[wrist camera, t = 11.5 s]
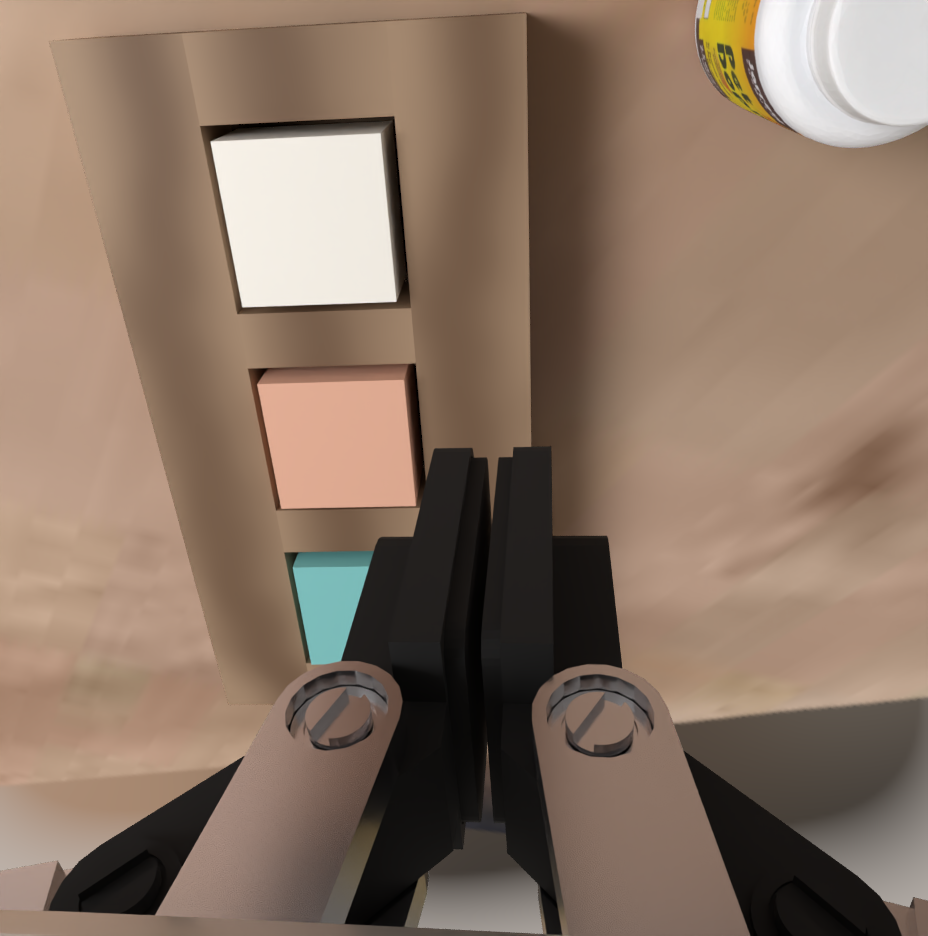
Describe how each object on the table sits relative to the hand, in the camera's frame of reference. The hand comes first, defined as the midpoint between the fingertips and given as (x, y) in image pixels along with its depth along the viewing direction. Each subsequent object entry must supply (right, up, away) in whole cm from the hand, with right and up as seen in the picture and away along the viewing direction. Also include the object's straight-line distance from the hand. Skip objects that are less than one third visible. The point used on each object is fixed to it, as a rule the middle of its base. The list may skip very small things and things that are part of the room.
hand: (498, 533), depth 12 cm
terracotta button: (-5, +3, +20) cm, 21 cm away
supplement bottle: (+9, +15, +14) cm, 22 cm away
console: (-5, +3, +21) cm, 22 cm away
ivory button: (-5, +10, +16) cm, 20 cm away
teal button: (-5, -4, +24) cm, 25 cm away
